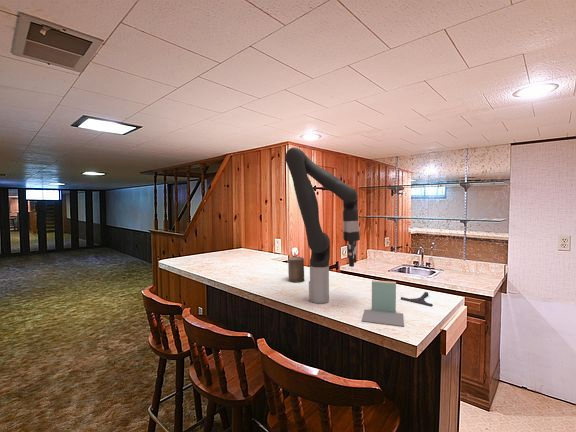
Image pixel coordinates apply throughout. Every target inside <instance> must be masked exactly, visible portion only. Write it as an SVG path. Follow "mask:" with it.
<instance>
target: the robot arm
mask: <svg viewBox="0 0 576 432" xmlns="http://www.w3.org/2000/svg"><path fill="white" fill-rule="evenodd" d="M284 158H285V162H286V165H287V168H288V170H289V173H290V175H291V178H292V183H293V189H294V193H295V196H296V200H297V204H298V208H299V210H300V214H301V215H300V216H301V217H302V218H301V219H302V221H303V223H304V228H305V233H306V240H307V245H308V248H309V249H310V250H311V255H310V258H309V280H308V302H311V303H315V304H326V303H329V301H330V257H331V255H330V254H331V240H330V237H329V236H328V234H327V233H326V232H324V231H323V229H322V227H321V222H320V215H319V214H320V211H319V210H320V209H319V203H318V198H317V195H316V192H315V190H314V187H313V185H312V183H311V180H310V178H309V176H310V177H311V178H312V179H313V180H315V181H316V182H317V183H318V184H320V185H321V186H322V187H323V188H325V189H326V190H328V191H329V192H331V193H332V194H334V195H335V196H337V197H338V198H339V199H341V200H342V201H343V202H342V204H343V205H342V206H343V212H342V221H343V222H342V231H343V232H342V235H343V241H344V242H348V243H347V245H346V248H347V249H346V252H347V259H348V267H349V268H353V267H354V266H355V264H356V263H357V254H358V251H357V250H358V246H357V245H358V244H357V242H359V241H360V240H361V237H360V235H361V233H360V223H359V221H360V220H359V210H358V206H359V205H358V201H359V200H358V199H359V198H358V197H359V196H358V192H357V190H355V188H353V187H351V186H350V185H348V184H347V183H345V182H343V181H342V180H341V179H339V178H338V177H337V176H336V175H334V174H333V173H331V172H329V171H328V170H326V169H324V168H322V167H321V166H319V165H318V164H316V163H315V162H313V160H311V159H310V158H309V157H308V156H307V155H306V152H304V151H303V150H302V149H300V148H298V147H291V148H289V149H287V151H286V153H285V156H284Z"/></svg>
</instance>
